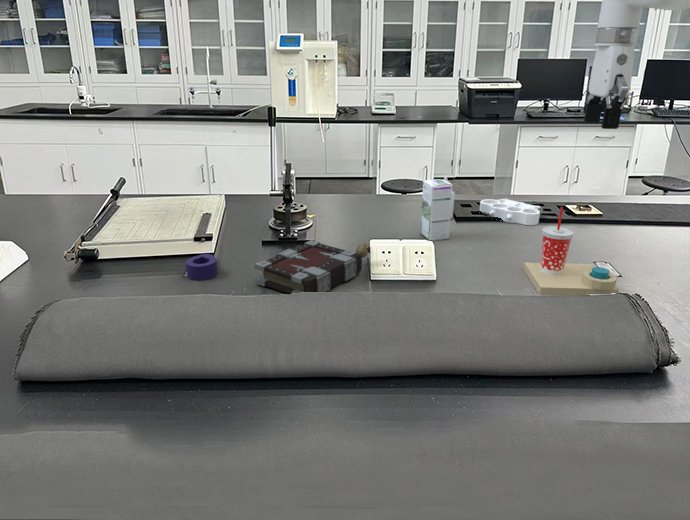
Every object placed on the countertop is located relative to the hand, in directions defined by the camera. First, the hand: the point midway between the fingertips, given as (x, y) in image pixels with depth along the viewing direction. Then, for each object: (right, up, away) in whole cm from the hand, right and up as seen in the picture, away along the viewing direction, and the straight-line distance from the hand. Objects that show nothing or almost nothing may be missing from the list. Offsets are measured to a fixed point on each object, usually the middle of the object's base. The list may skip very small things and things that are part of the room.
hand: (600, 125), depth 113 cm
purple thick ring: (-86, -31, +4) cm, 91 cm away
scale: (-8, -34, -2) cm, 35 cm away
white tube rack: (-6, -16, +41) cm, 44 cm away
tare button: (-4, -32, -7) cm, 33 cm away
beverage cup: (-11, -31, -1) cm, 33 cm away
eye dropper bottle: (-27, -17, +39) cm, 50 cm away
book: (-60, -32, +1) cm, 68 cm away
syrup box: (-31, -23, +24) cm, 46 cm away
